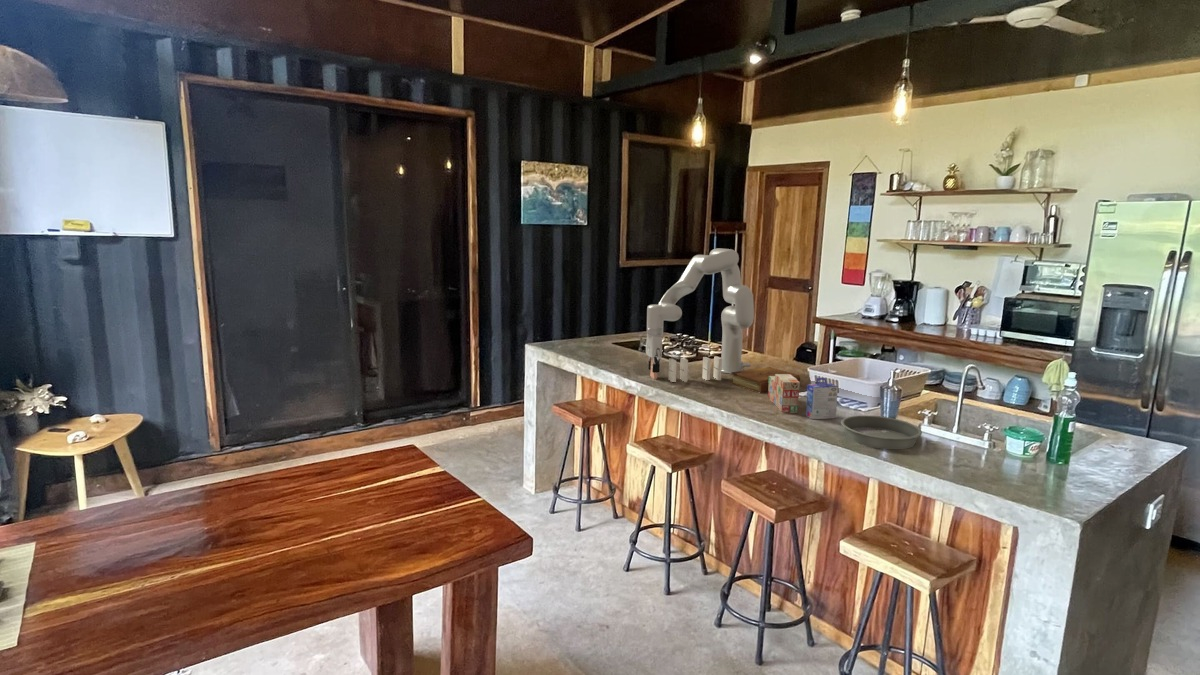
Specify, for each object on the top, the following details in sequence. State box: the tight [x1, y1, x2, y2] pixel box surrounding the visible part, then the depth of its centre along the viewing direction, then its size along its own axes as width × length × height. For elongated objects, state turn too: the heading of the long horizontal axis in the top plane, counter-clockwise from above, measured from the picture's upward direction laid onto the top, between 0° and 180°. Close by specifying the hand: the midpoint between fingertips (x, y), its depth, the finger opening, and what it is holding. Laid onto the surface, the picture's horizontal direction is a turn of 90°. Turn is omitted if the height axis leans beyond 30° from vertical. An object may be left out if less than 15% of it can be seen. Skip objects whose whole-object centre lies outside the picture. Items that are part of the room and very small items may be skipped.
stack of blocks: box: [767, 374, 801, 413], centre depth 247 cm, size 21×6×12 cm, turn 179°
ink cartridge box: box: [805, 377, 839, 420], centre depth 231 cm, size 10×6×14 cm, turn 99°
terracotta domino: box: [649, 356, 658, 380], centre depth 288 cm, size 2×5×10 cm, turn 14°
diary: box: [730, 366, 801, 394], centre depth 278 cm, size 23×19×6 cm
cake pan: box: [840, 415, 923, 450], centre depth 210 cm, size 25×25×4 cm
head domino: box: [668, 358, 677, 383], centre depth 282 cm, size 2×5×10 cm, turn 14°
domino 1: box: [679, 357, 689, 383], centre depth 283 cm, size 2×5×10 cm, turn 14°
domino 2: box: [701, 356, 712, 381], centre depth 286 cm, size 2×5×10 cm, turn 14°
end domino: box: [713, 356, 723, 381], centre depth 287 cm, size 2×5×10 cm, turn 14°
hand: (653, 370), depth 289 cm, fingers closed on terracotta domino, 4 cm apart
